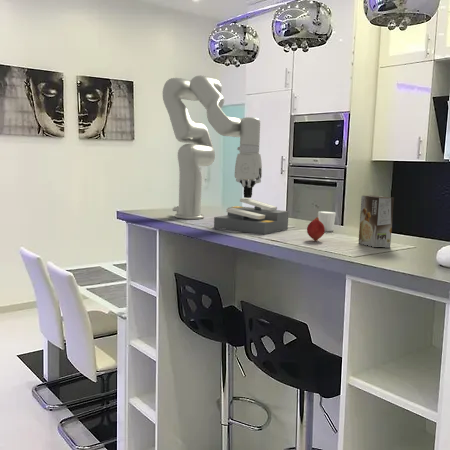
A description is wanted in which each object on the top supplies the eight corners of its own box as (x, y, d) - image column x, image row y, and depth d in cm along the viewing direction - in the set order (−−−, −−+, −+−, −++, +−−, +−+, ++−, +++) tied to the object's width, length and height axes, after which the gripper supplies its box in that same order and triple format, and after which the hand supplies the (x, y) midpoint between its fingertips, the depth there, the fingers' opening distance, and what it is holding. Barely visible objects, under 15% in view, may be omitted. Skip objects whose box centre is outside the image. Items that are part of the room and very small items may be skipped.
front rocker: (226, 211, 190) (226, 208, 190) (233, 210, 194) (233, 207, 194) (258, 219, 183) (258, 216, 182) (264, 218, 187) (265, 215, 187)
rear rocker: (239, 201, 197) (240, 198, 197) (246, 200, 201) (246, 197, 201) (270, 210, 190) (271, 207, 190) (276, 209, 194) (277, 206, 194)
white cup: (333, 229, 200) (334, 211, 199) (335, 231, 194) (337, 213, 193) (316, 228, 201) (317, 210, 200) (317, 230, 194) (318, 212, 193)
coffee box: (391, 247, 162) (395, 197, 160) (375, 248, 159) (379, 197, 157) (372, 242, 170) (376, 195, 168) (357, 243, 168) (360, 195, 166)
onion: (304, 241, 168) (306, 217, 167) (308, 238, 174) (309, 215, 172) (322, 242, 166) (324, 218, 165) (325, 240, 172) (326, 216, 170)
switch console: (213, 227, 192) (214, 205, 190) (239, 223, 206) (240, 203, 205) (264, 234, 179) (265, 211, 178) (287, 229, 194) (288, 208, 193)
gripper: (227, 149, 196) (226, 196, 199) (261, 150, 188) (259, 199, 191) (238, 150, 203) (236, 195, 205) (271, 150, 194) (269, 198, 197)
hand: (247, 197), depth 198 cm, fingers closed
